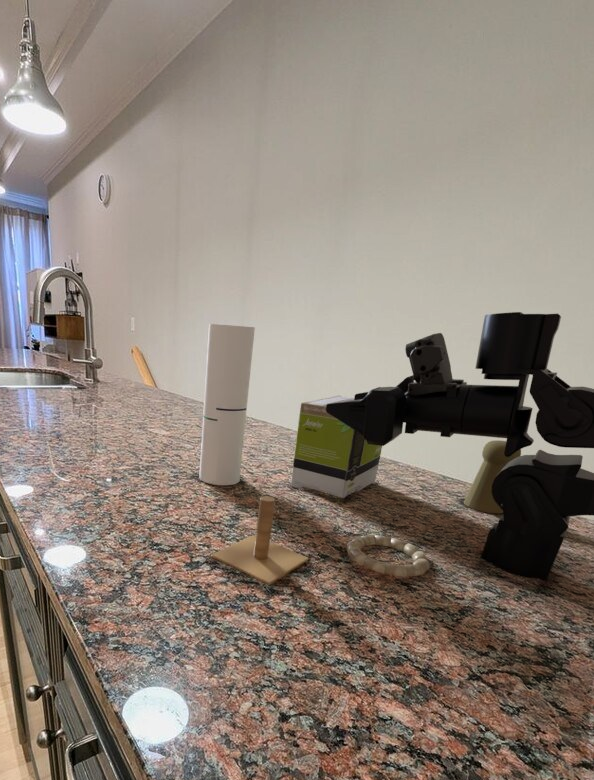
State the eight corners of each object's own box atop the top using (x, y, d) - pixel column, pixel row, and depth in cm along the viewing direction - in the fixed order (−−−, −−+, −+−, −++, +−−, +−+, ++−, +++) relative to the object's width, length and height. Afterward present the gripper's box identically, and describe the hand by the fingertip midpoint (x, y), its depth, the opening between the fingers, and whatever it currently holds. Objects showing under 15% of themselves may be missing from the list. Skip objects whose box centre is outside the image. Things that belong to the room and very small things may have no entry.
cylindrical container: (236, 487, 75) (252, 327, 65) (195, 482, 76) (204, 323, 67) (242, 475, 81) (257, 327, 72) (203, 470, 83) (213, 324, 73)
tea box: (326, 470, 88) (339, 393, 83) (376, 483, 82) (394, 402, 77) (287, 486, 77) (300, 399, 72) (342, 503, 72) (360, 410, 66)
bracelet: (436, 563, 54) (440, 551, 54) (411, 591, 48) (414, 578, 47) (364, 538, 60) (367, 527, 59) (332, 560, 53) (335, 548, 52)
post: (307, 565, 51) (319, 500, 48) (268, 591, 46) (278, 520, 43) (252, 541, 56) (259, 481, 53) (210, 562, 51) (215, 496, 47)
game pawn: (493, 501, 77) (514, 439, 73) (512, 515, 72) (535, 448, 67) (457, 498, 78) (476, 436, 73) (473, 511, 72) (494, 444, 68)
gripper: (495, 332, 56) (371, 336, 65) (460, 341, 43) (311, 344, 52) (479, 421, 60) (365, 413, 69) (443, 454, 47) (308, 438, 56)
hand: (341, 402), depth 62 cm, fingers open, 9 cm apart
